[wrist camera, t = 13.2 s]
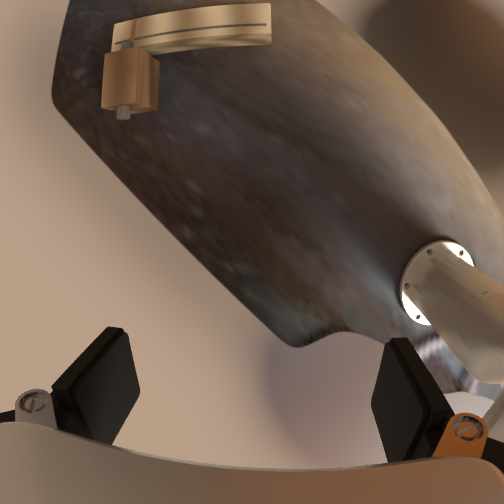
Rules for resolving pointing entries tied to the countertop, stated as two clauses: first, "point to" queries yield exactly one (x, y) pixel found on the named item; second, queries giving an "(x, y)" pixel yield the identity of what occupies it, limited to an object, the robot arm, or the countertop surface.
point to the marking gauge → (130, 81)
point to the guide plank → (198, 29)
